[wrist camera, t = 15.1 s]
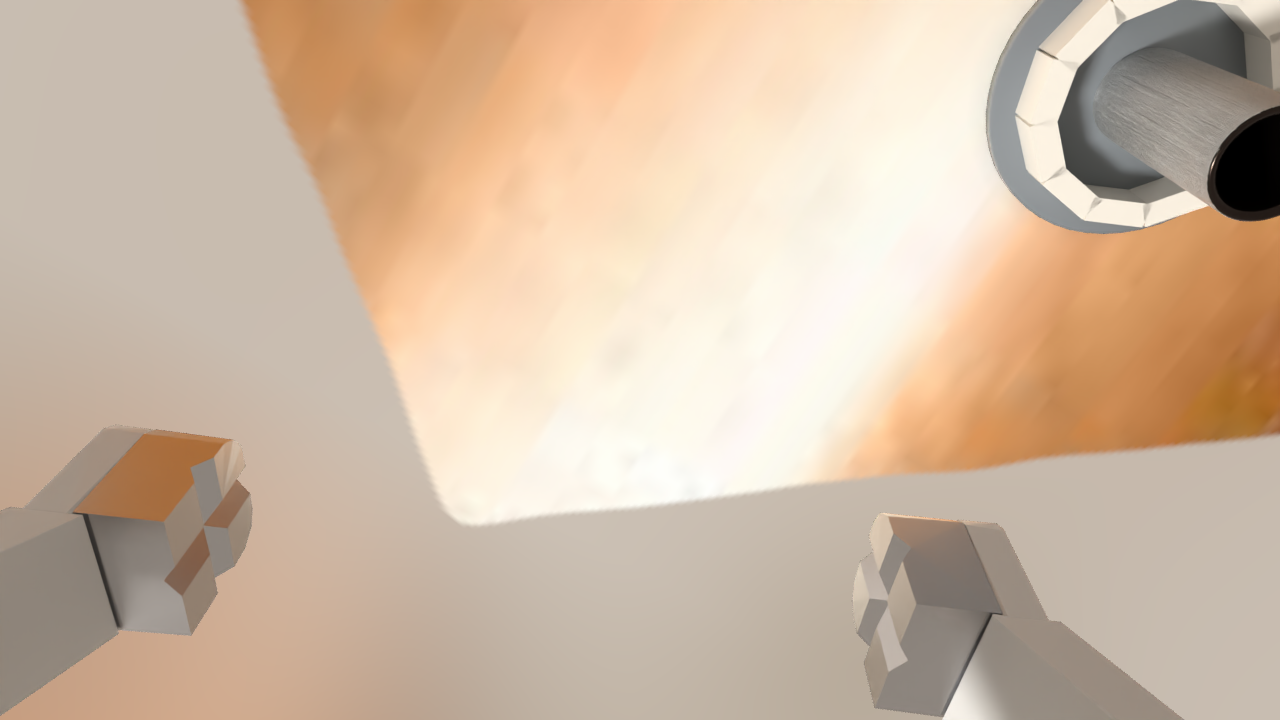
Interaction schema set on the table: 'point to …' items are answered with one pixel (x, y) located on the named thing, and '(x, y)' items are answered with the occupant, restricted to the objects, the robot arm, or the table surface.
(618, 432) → the table surface
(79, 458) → the robot arm
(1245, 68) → the ring dish
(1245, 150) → the grey cylinder
